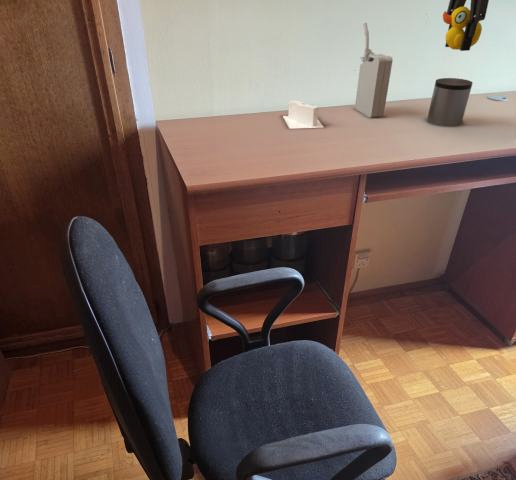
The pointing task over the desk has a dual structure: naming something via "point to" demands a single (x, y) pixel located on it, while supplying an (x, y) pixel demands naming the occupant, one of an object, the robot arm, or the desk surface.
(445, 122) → the jar
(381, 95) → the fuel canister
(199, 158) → the desk surface
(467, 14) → the duckling
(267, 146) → the desk surface
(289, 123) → the napkin holder
